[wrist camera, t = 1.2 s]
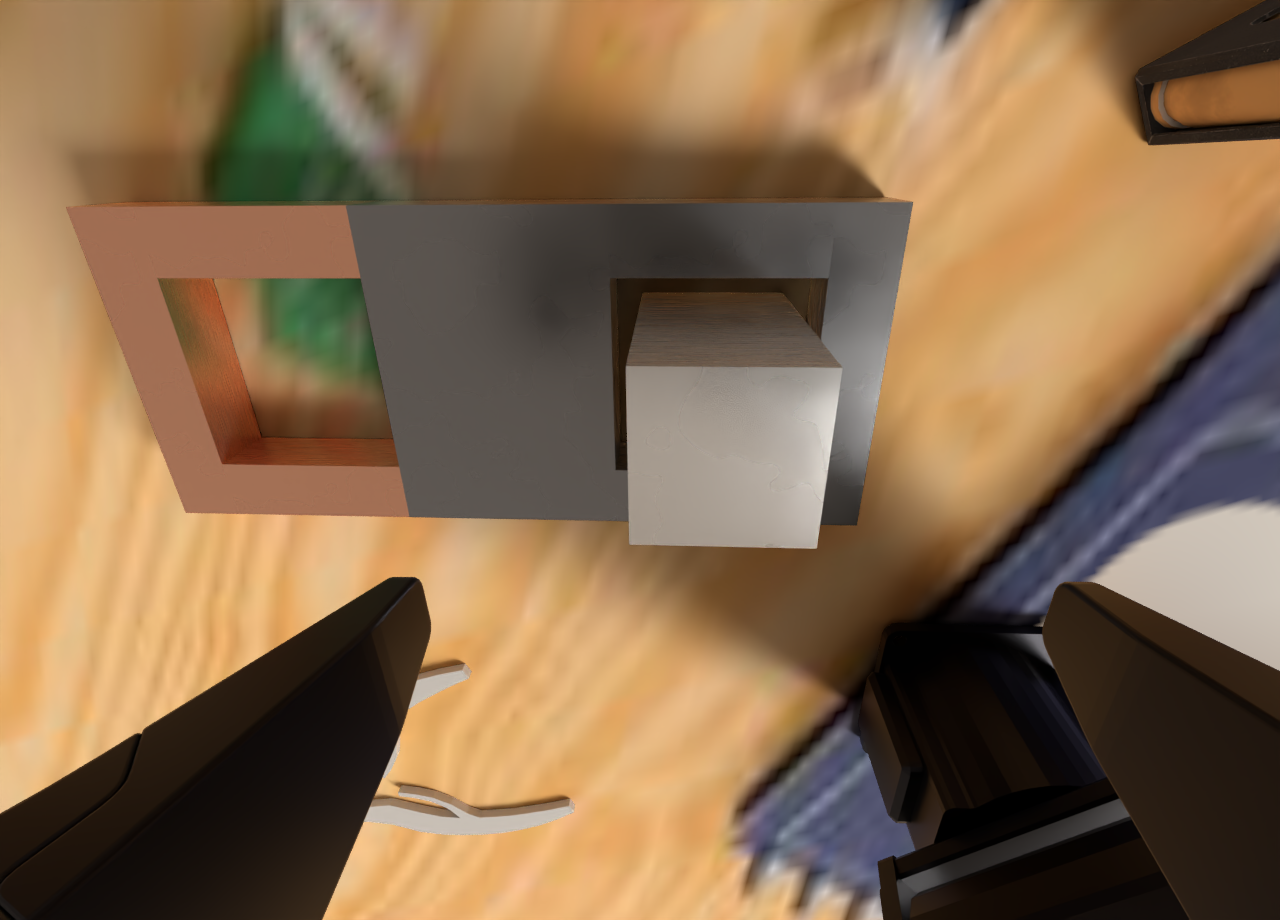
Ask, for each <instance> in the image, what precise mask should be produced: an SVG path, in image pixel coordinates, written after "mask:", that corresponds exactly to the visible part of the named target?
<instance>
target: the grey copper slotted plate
mask: <svg viewBox="0 0 1280 920" xmlns="http://www.w3.org/2000/svg"><path fill="white" fill-rule="evenodd" d="M912 206H913V202H910V201H905V200H899V199H894V198H888V197H846V198H689V199H531V200H373V201H216V202H123V203H111V204H98V205H86V206H73V207H66V209H67V211H68V214H69V216H70V219H71V221H72V224H73V226H74V229H75V232H76V234H77V237H78V239H79V242H80V244H81V247H82V249H83V252H84V254H85V257H86V260H87V262H88V265H89V267H90V270H91V272H92V275H93V277H94V280H95V282H96V285H97V288H98V290H99V293H100V295H101V298H102V300H103V303H104V305H105V308H106V310H107V313H108V316H109V318H110V321H111V323H112V326H113V328H114V331H115V333H116V336H117V339H118V341H119V344H120V346H121V349H122V351H123V354H124V356H125V359H126V361H127V364H128V367H129V369H130V372H131V374H132V377H133V379H134V382H135V384H136V387H137V389H138V392H139V395H140V397H141V400H142V402H143V405H144V407H145V410H146V412H147V415H148V417H149V420H150V423H151V425H152V428H153V430H154V433H155V435H156V438H157V440H158V443H159V446H160V448H161V451H162V453H163V456H164V458H165V461H166V463H167V466H168V468H169V471H170V474H171V476H172V479H173V481H174V484H175V486H176V489H177V491H178V494H179V496H180V499H181V502H182V504H183V507H184V509H185V512H186V513H226V514H279V515H331V516H384V517H437V518H490V519H542V520H595V521H629V507H628V457H627V442H621V433H620V392H619V351H618V311H617V278H811V282H810V291H809V300H808V309H807V318H806V323H807V324H808V325H809V326H810V328H811V329H812V330H813V331H814V333H815V334H816V335H817V336H818V338H819V339H820V340H821V341H822V343H823V344H824V345H825V346H826V348H827V349H828V350H829V351H830V353H831V354H832V355H833V356H834V358H835V359H836V360H837V361H838V362H839V364H840V365H841V366H842V367H843V369H842V376H841V383H840V390H839V397H838V404H837V411H836V418H835V425H834V432H833V438H832V445H831V452H830V459H829V466H828V473H827V480H826V487H825V494H824V501H823V508H822V515H821V522H820V525H857V521H858V515H859V509H860V503H861V498H862V492H863V486H864V481H865V475H866V469H867V463H868V458H869V452H870V446H871V440H872V435H873V429H874V423H875V418H876V412H877V406H878V400H879V395H880V389H881V383H882V377H883V372H884V366H885V360H886V355H887V349H888V343H889V337H890V332H891V326H892V320H893V314H894V309H895V303H896V297H897V292H898V286H899V280H900V274H901V269H902V263H903V257H904V251H905V246H906V240H907V234H908V229H909V223H910V217H911V211H912ZM213 278H361V283H362V288H363V293H364V297H365V302H366V307H367V312H368V317H369V322H370V327H371V332H372V336H373V341H374V346H375V351H376V356H377V361H378V366H379V371H380V376H381V380H382V385H383V390H384V395H385V400H386V405H387V410H388V415H389V419H390V424H391V429H392V434H393V439H344V438H266V437H261V434H260V430H259V427H258V424H257V421H256V417H255V414H254V411H253V408H252V405H251V401H250V398H249V395H248V392H247V388H246V385H245V382H244V379H243V375H242V372H241V369H240V366H239V362H238V359H237V356H236V353H235V350H234V346H233V343H232V340H231V337H230V333H229V330H228V327H227V324H226V320H225V317H224V314H223V311H222V307H221V304H220V301H219V298H218V295H217V291H216V288H215V285H214V282H213Z"/></svg>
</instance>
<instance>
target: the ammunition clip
mask: <svg viewBox="0 0 1280 920" xmlns="http://www.w3.org/2000/svg"><path fill="white" fill-rule="evenodd" d="M1135 80H1136V85H1137V90H1138V95H1139V100H1140V105H1141V111H1142V116H1143V121H1144V126H1145V131H1146V136H1147V141H1148V145H1169V144H1188V143H1208V142H1227V141H1247V140H1267V139H1280V0H1266V1H1264V2H1262V3H1260V4H1258V5H1257V6H1255V7H1253V8H1251V9H1249V10H1247V11H1245V12H1244V13H1242V14H1240V15H1238V16H1236V17H1234V18H1233V19H1231V20H1229V21H1227V22H1225V23H1223V24H1222V25H1220V26H1218V27H1216V28H1214V29H1212V30H1211V31H1209V32H1207V33H1205V34H1203V35H1201V36H1200V37H1198V38H1196V39H1194V40H1192V41H1190V42H1189V43H1187V44H1185V45H1183V46H1181V47H1179V48H1177V49H1176V50H1174V51H1172V52H1170V53H1168V54H1166V55H1165V56H1163V57H1161V58H1159V59H1157V60H1155V61H1154V62H1152V63H1150V64H1148V65H1146V66H1144V67H1143V68H1141V69H1140V70H1139V72H1138V73H1137V75H1136V77H1135Z"/></svg>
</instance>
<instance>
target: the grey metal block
mask: <svg viewBox="0 0 1280 920" xmlns="http://www.w3.org/2000/svg"><path fill="white" fill-rule="evenodd" d="M842 369H843V367H842V366H841V365H840V364H839V362H838V361H837V360H836V359H835V358H834V356H833V355H832V354H831V353H830V351H829V350H828V349H827V348H826V346H825V345H824V344H823V343H822V341H821V340H820V339H819V338H818V336H817V335H816V334H815V333H814V331H813V330H812V329H811V328H810V326H809V325H808V324H807V323H806V321H805V320H804V319H803V318H802V316H801V315H800V314H799V313H798V311H797V310H796V309H795V308H794V306H793V305H792V304H791V303H790V301H789V300H788V299H787V298H786V296H785V295H784V294H783V293H728V292H643V295H642V299H641V303H640V307H639V312H638V316H637V320H636V324H635V329H634V333H633V337H632V341H631V346H630V350H629V354H628V358H627V363H626V406H627V457H628V507H629V545H669V546H715V547H762V548H808V549H817V543H818V536H819V529H820V522H821V515H822V508H823V501H824V494H825V487H826V480H827V473H828V466H829V459H830V452H831V445H832V438H833V432H834V425H835V418H836V411H837V404H838V397H839V390H840V383H841V376H842Z"/></svg>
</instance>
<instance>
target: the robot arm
mask: <svg viewBox="0 0 1280 920" xmlns="http://www.w3.org/2000/svg"><path fill="white" fill-rule="evenodd" d="M430 634H431V620H430V615H429V611H428V607H427V602H426V598H425V594H424V589H423V586H422V583H421V582H420V580H419V579H417V578H415V577H392V578H389V579H387V580H385V581H383V582H382V583H380V584H378V585H377V586H375V587H374V588H372V589H370V590H369V591H367V592H365V593H364V594H362V595H361V596H359V597H357V598H356V599H354V600H352V601H351V602H349V603H348V604H346V605H344V606H343V607H341V608H339V609H338V610H336V611H335V612H333V613H331V614H330V615H328V616H326V617H325V618H323V619H322V620H320V621H318V622H317V623H315V624H313V625H312V626H310V627H309V628H307V629H305V630H304V631H302V632H300V633H299V634H297V635H296V636H294V637H292V638H291V639H289V640H287V641H286V642H284V643H283V644H281V645H279V646H278V647H276V648H274V649H273V650H271V651H269V652H268V653H266V654H265V655H263V656H261V657H260V658H258V659H256V660H255V661H253V662H252V663H250V664H248V665H247V666H245V667H243V668H242V669H240V670H239V671H237V672H235V673H234V674H232V675H230V676H229V677H227V678H226V679H224V680H222V681H221V682H219V683H217V684H216V685H214V686H213V687H211V688H209V689H208V690H206V691H204V692H203V693H201V694H200V695H198V696H196V697H195V698H193V699H191V700H190V701H188V702H186V703H185V704H183V705H182V706H180V707H178V708H177V709H175V710H173V711H172V712H170V713H169V714H167V715H165V716H164V717H162V718H160V719H159V720H157V721H156V722H154V723H152V724H151V725H149V726H147V727H146V728H145V729H144V730H143V732H142V734H140V733H136V734H134V735H132V736H131V737H129V738H128V739H126V740H124V741H123V742H121V743H120V744H118V745H116V746H115V747H113V748H112V749H110V750H108V751H107V752H105V753H103V754H102V755H100V756H99V757H97V758H95V759H93V760H92V761H90V762H88V763H87V764H85V765H83V766H82V767H80V768H78V769H77V770H75V771H73V772H72V773H70V774H68V775H67V776H65V777H63V778H62V779H60V780H58V781H57V782H55V783H53V784H52V785H50V786H48V787H47V788H45V789H43V790H41V791H40V792H38V793H36V794H34V795H32V796H31V797H29V798H27V799H25V800H24V801H22V802H20V803H18V804H16V805H15V806H13V807H11V808H9V809H8V810H6V811H4V812H2V813H0V920H322V919H323V917H324V914H325V912H326V910H327V907H328V905H329V903H330V900H331V898H332V896H333V893H334V891H335V888H336V886H337V884H338V881H339V879H340V877H341V874H342V872H343V870H344V867H345V865H346V862H347V860H348V858H349V855H350V853H351V851H352V848H353V846H354V844H355V841H356V839H357V836H358V834H359V832H360V829H361V827H362V825H363V822H364V820H365V818H366V815H367V813H368V810H369V808H370V806H371V803H372V801H373V799H374V796H375V794H376V792H377V789H378V787H379V784H380V782H381V780H382V777H383V775H384V773H385V770H386V768H387V766H388V763H389V761H390V758H391V756H392V754H393V751H394V749H395V746H396V744H397V741H398V739H399V736H400V734H401V731H402V728H403V725H404V722H405V719H406V715H407V712H408V709H409V705H410V702H411V699H412V695H413V692H414V689H415V685H416V682H417V679H418V675H419V672H420V669H421V666H422V662H423V659H424V656H425V652H426V649H427V646H428V642H429V639H430ZM897 636H902V637H900V638H898V639H894V638H895V637H897ZM858 724H859V727H860V730H861V735H860V742H861V745H862V748H863V750H864V751H865V752H866V753H868V755H869V758H870V761H871V764H872V767H873V770H874V773H875V776H876V779H877V782H878V785H879V788H880V791H881V794H882V798H883V801H884V804H885V807H886V810H887V813H888V815H889V816H890V817H891V818H892V820H893V821H894V822H896V823H906V824H907V827H908V830H909V833H910V836H911V839H912V841H913V844H914V847H915V850H916V851H913V852H910V853H908V854H905V855H903V856H900V857H897V858H896V857H895V856H894V855H893V856H890V857H888V858H885V859H883V860H880V861H878V870H879V878H880V886H881V889H880V898H881V905H882V913H883V920H1280V671H1279V670H1277V669H1274V668H1272V667H1270V666H1268V665H1266V664H1264V663H1262V662H1260V661H1258V660H1256V659H1254V658H1252V657H1249V656H1247V655H1245V654H1243V653H1241V652H1239V651H1237V650H1235V649H1233V648H1231V647H1229V646H1227V645H1225V644H1222V643H1220V642H1218V641H1216V640H1214V639H1212V638H1210V637H1208V636H1206V635H1204V634H1202V633H1200V632H1197V631H1195V630H1193V629H1191V628H1189V627H1187V626H1185V625H1183V624H1181V623H1179V622H1177V621H1175V620H1173V619H1170V618H1168V617H1166V616H1164V615H1162V614H1160V613H1158V612H1156V611H1154V610H1152V609H1150V608H1147V607H1145V606H1143V605H1141V604H1139V603H1137V602H1135V601H1133V600H1131V599H1129V598H1127V597H1124V596H1122V595H1120V594H1118V593H1116V592H1114V591H1112V590H1110V589H1108V588H1106V587H1104V586H1102V585H1100V584H1097V583H1093V582H1064V583H1061V584H1060V585H1059V586H1058V587H1057V588H1056V590H1055V592H1054V595H1053V598H1052V601H1051V604H1050V607H1049V610H1048V613H1047V616H1046V619H1045V622H1044V625H1043V627H1035V626H997V625H959V624H921V623H894V624H891V625H889V626H887V627H886V628H885V629H884V631H883V633H882V638H881V642H880V647H879V652H878V656H877V661H876V665H875V670H874V672H872V673H871V674H870V675H869V676H868V677H867V681H866V686H865V691H864V695H863V700H862V705H861V709H860V714H859V719H858Z"/></svg>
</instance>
